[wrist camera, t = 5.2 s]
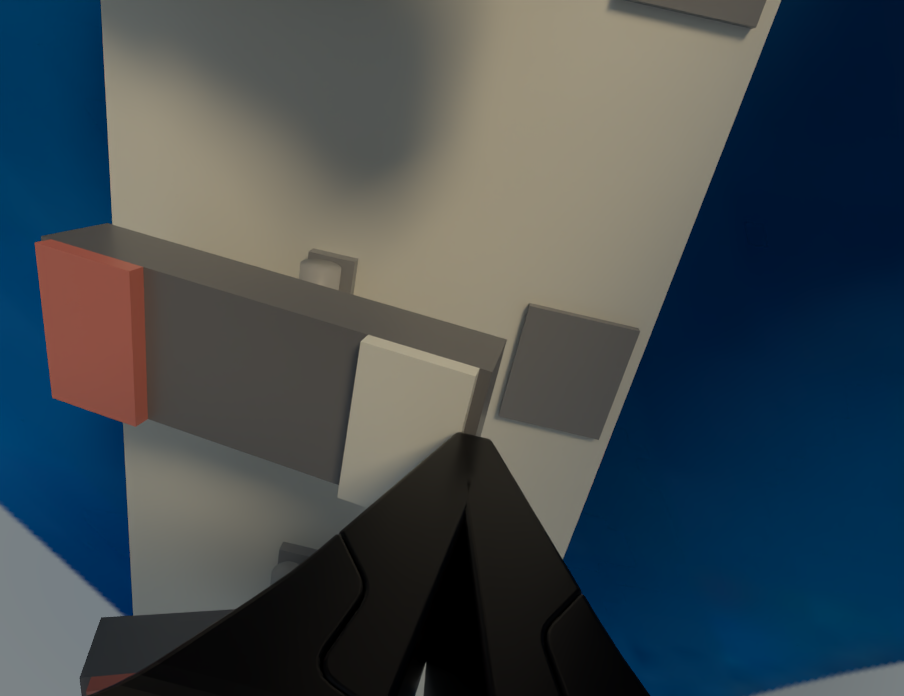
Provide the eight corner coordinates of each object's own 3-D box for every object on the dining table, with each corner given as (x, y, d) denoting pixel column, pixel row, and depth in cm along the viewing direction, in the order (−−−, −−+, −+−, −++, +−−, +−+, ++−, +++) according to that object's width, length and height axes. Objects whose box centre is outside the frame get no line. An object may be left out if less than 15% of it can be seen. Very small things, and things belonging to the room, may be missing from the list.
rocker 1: (517, 314, 11) (488, 380, 8) (483, 440, 12) (447, 535, 9) (160, 213, 12) (24, 239, 9) (161, 337, 13) (43, 394, 10)
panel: (1011, -791, 8) (1322, -1354, 5) (504, 631, 20) (501, 724, 17) (190, -961, 8) (-9, -1618, 5) (185, 555, 20) (127, 634, 17)
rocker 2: (430, 555, 16) (456, 654, 13) (412, 625, 17) (433, 729, 15) (118, 568, 14) (74, 692, 11) (124, 648, 15) (84, 778, 12)
